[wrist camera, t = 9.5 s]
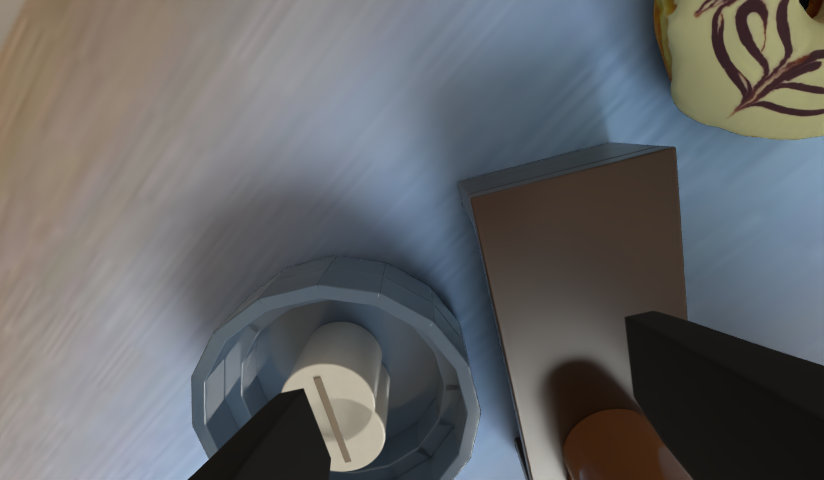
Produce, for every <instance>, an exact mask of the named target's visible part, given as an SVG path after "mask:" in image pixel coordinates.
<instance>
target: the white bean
mask: <svg viewBox="0 0 824 480" xmlns="http://www.w3.org/2000/svg"><path fill="white" fill-rule="evenodd" d="M301 388H304V390H305V393H306V395H307V398H308V401H309V403H310V406H311V408H312V411H313V413H314V416H315V418H316V421H317V424H318V426H319V429H320V431H321V434H322V436H323V439H324V441H325V444H326V447H327V449H328V452H329V454H330V457H331V466H330V470H331V471H339V472H345V471H353V470H357V469H360V468H362V467H364V466H366V465H368V464H369V463H371V462H372V461H373V460H374V459H376V457H377V456H378V455H379V454H380V452H381V450H382V449H383V446H384V443H385V438H386V427H387V417H388V406H389V395H390V377H389V374H388V372H387V370H386V368H385V367H384V365H383V364H382V352H381V348H380V346H379V344H378V342H377V340H376V339H375V337H374V336H373V335H372V334H371V333H370V332H369V331H367V330H366V329H365V328H363V327H361V326H359V325H357V324H354V323H350V322H332V323H328V324H325V325H323V326H321V327H319V328H317V329H316V330H315V331H314V332H312V334H311V335H310V336H309V337H308V339H307V341H306V342H305V344H304V346H303V348H302V350H301V352H300V354H299V356H298V358H297V360H296V362H295V364H294V366H293V368H292V370H291V372H290V374H289V376H288V378H287V380H286V382H285V384H284V386H283V388H282V391H281V393H283V392H288V391H292V390H297V389H301Z"/></svg>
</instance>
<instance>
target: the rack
mask: <svg viewBox="0 0 824 480" xmlns="http://www.w3.org/2000/svg"><path fill="white" fill-rule="evenodd" d="M457 186H458V191H459V195H460V200H461V204H462V206H463V208H464V209H465V211H466V212H467V214H468V216H469V217H470V219H471V220H472V222H473V224H474V228H475V233H476V238H477V242H478V247H479V251H480V256H481V260H482V265H483V269H484V274H485V278H486V283H487V288H488V292H489V297H490V301H491V306H492V310H493V315H494V319H495V324H496V329H497V333H498V338H499V342H500V347H501V351H502V356H503V360H504V365H505V370H506V374H507V379H508V383H509V388H510V392H511V397H512V401H513V406H514V411H515V415H516V420H517V424H518V429H519V433H520V438H518V439H515V444H516V448H517V453H518V457H519V460H520V463H521V466H522V469H523V472H524V476H525V479H526V480H569V475H570V474H569V471H568V469H567V467H566V465H565V462H564V458H563V447H564V443H565V440H566V438H567V436H568V434H569V433H570V431H571V430H572V429H573V427H574V426H575V425H576V424H577V423H579V422H580V421H581V420H583V419H584V418H586V417H587V416H589V415H591V414H593V413H596V412H599V411H602V410H607V409H628V410H632V411H635V412H638V413H640V414H642V415H644V416H645V417H646V415H645V414H644V412H643V411H642V409H641V407H640V406H639V404H638V403H637V401H636V399H635V398H634V395H633V387H632V378H631V369H630V361H629V352H628V344H627V335H626V327H625V318H624V317H627V316H631V315H636V314H640V313H645V312H649V311H657V312H661V313H665V314H668V315H671V316H675V317H678V318H681V319H684V320H687V305H686V290H685V275H684V261H683V246H682V231H681V216H680V201H679V186H678V171H677V156H676V148H675V147H670V146H654V145H639V144H625V143H610V142H609V143H605V144H601V145H598V146H594V147H590V148H586V149H582V150H578V151H574V152H570V153H566V154H562V155H558V156H554V157H551V158H547V159H543V160H539V161H535V162H531V163H527V164H523V165H519V166H515V167H511V168H507V169H504V170H500V171H496V172H492V173H488V174H484V175H480V176H476V177H472V178H468V179H464V180H460V181H458V182H457ZM687 321H688V320H687Z"/></svg>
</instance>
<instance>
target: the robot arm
mask: <svg viewBox="0 0 824 480" xmlns="http://www.w3.org/2000/svg"><path fill="white" fill-rule="evenodd" d="M624 318H625V327H626V335H627V344H628V352H629V361H630V369H631V378H632V387H633V395H634V398H635V399H636V401H637V403H638V404H639V406H640V407H641V409H642V411H643V412H644V414H645V415H646V417H647V419H648V420H649V422H650V423H651V425H652V426H653V428H654V429H655V431H656V432H657V434H658V435H659V437H660V438H661V440H662V441H663V443H664V444H665V445H666V446H667V448H668V449H669V450H670V451H671V453H672V454H673V455H674V456H675V458H676V459H677V460H678V461H679V463H680V464H681V465H682V466H683V468H684V469H685V470H686V471H687V473H688V474H689V475H690V476H691V477H692V479H693V480H824V366H823V365H820V364H817V363H813V362H810V361H807V360H804V359H801V358H797V357H794V356H791V355H788V354H785V353H782V352H779V351H776V350H773V349H769V348H766V347H763V346H760V345H757V344H754V343H751V342H748V341H745V340H743V339H740V338H737V337H734V336H731V335H728V334H725V333H722V332H719V331H716V330H713V329H710V328H707V327H705V326H702V325H699V324H696V323H693V322H690V321H687V320H684V319H681V318H678V317H675V316H671V315H668V314H665V313H661V312H657V311H649V312H645V313H640V314H636V315H631V316H627V317H624ZM330 466H331V457H330V454H329V452H328V449H327V447H326V444H325V441H324V439H323V436H322V434H321V431H320V429H319V426H318V424H317V421H316V418H315V416H314V413H313V411H312V408H311V406H310V403H309V401H308V398H307V395H306V393H305V390H304V388H301V389H297V390H292V391H288V392H283V393H279V394H277V395H276V396H275V397H274V398H272V399H271V400H270V401H269V402H268V403H267V404H266V405H264V406H263V407H262V408H261V409H260V410H259V411H258V412H257V413H256V414H255V415H254V416H253V417H252V418H251V419H250V420H249V421H248V422H247V423H246V424H245V425H244V426H243V427H242V428H241V429H240V430H238V431H237V432H236V433H235V434H234V435H233V436H232V437H231V438H230V439H229V440H228V441H227V442H226V443H225V444H224V445H223V446H222V447H221V448H220V449H219V450H218V451H217V452H216V453H215V454H214V455H213V456H212V457H211V458H210V459H209V460H208V461H207V462H206V463H205V464H204V465H203V466H202V467H201V468H200V469H199V470H198V471H196V472H195V473H194V474H193V475H192V476H191V477H190V478H189V479H188V480H329V475H330Z"/></svg>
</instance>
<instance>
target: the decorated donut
mask: <svg viewBox="0 0 824 480" xmlns="http://www.w3.org/2000/svg"><path fill="white" fill-rule="evenodd" d="M808 5H809V6H808V8H807V9H806V11H805V10H804V8H803V7H802V6H801V4H800V3H799V0H655V2H654V12H653V19H654V31H655V36H656V40H657V42H658V45H659V48H660V52H661V56H662V57H663V61H664V65H665V68H666V71H667V74H668V76H669V79H670V81H671V96H672V99H673V101H674V104H675V105H676V106H677V107H678V109H679V110H680V111H681V112H683V113H684V114H685V115H687V116H688V117H690V118H692V119H693V120H695V121H698V122H700V123H702V124H705V125H709V126H714V127H720V128H722V129H725V130H728V131H730V132H733V133H735V134H739V135H743V136H751V137H761V138H768V139H777V140H785V139H789V140H799V139H805V138H811V137H818V136H824V0H809V3H808Z"/></svg>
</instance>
